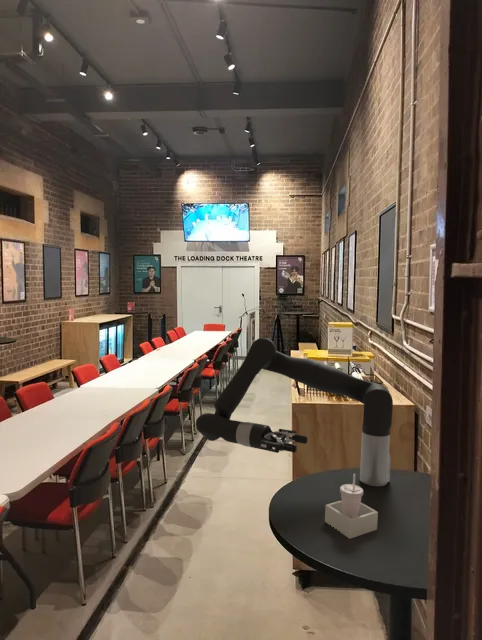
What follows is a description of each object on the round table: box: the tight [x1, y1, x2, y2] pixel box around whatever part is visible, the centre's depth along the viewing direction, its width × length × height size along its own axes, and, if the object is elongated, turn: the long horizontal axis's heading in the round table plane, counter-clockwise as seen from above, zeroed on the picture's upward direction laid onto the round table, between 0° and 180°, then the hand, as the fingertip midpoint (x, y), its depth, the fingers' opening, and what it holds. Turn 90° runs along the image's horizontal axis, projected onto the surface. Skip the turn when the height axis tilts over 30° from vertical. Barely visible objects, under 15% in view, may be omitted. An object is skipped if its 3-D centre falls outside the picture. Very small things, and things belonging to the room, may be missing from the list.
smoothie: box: [339, 473, 364, 519], centre depth 132 cm, size 6×6×14 cm
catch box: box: [324, 499, 379, 539], centre depth 132 cm, size 10×10×5 cm
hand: (301, 444), depth 141 cm, fingers open, 8 cm apart
